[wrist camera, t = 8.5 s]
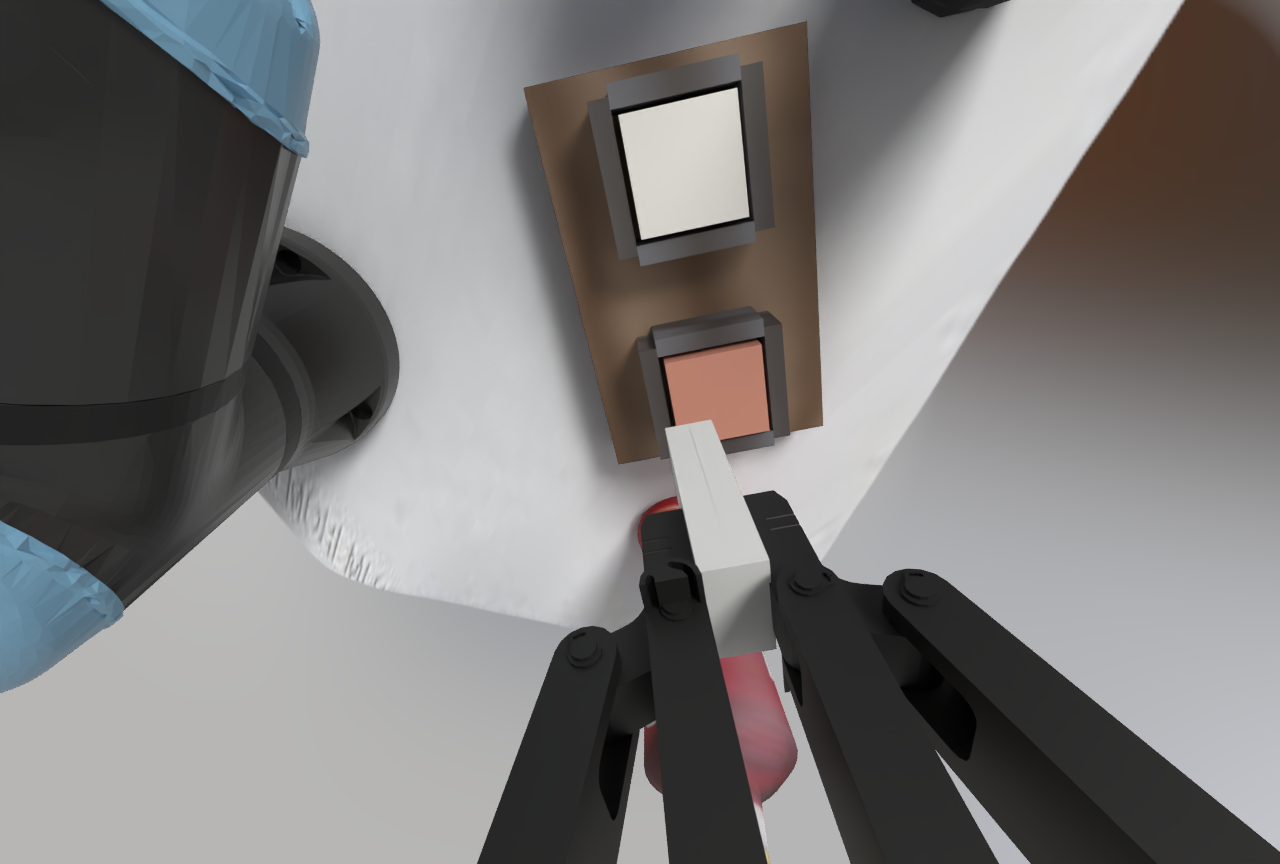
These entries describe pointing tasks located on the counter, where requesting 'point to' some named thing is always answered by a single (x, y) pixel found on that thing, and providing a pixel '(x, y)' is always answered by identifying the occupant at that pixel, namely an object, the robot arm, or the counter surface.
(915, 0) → the black tapered cylinder
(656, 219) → the off-white key
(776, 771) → the liquor
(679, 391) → the brick-red key
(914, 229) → the counter surface
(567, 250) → the key panel
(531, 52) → the counter surface
